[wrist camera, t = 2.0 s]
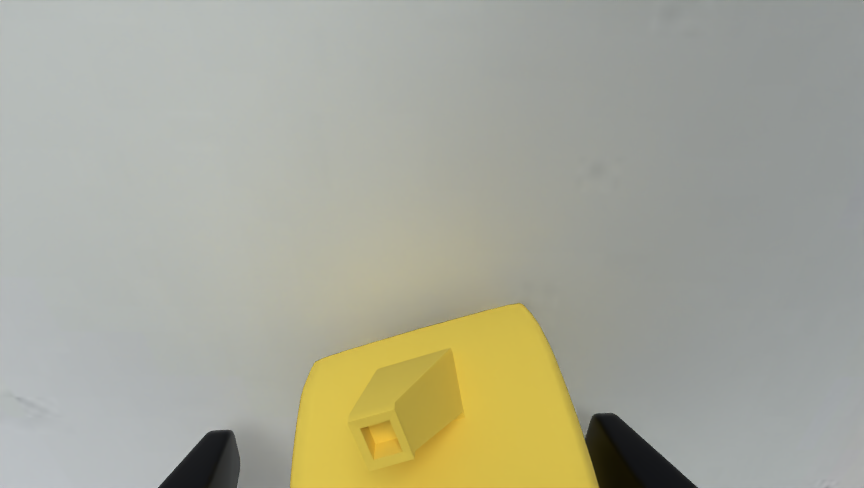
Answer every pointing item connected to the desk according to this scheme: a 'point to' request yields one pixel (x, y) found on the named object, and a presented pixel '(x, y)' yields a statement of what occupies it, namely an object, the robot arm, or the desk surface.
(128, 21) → the desk surface
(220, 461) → the robot arm
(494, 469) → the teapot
